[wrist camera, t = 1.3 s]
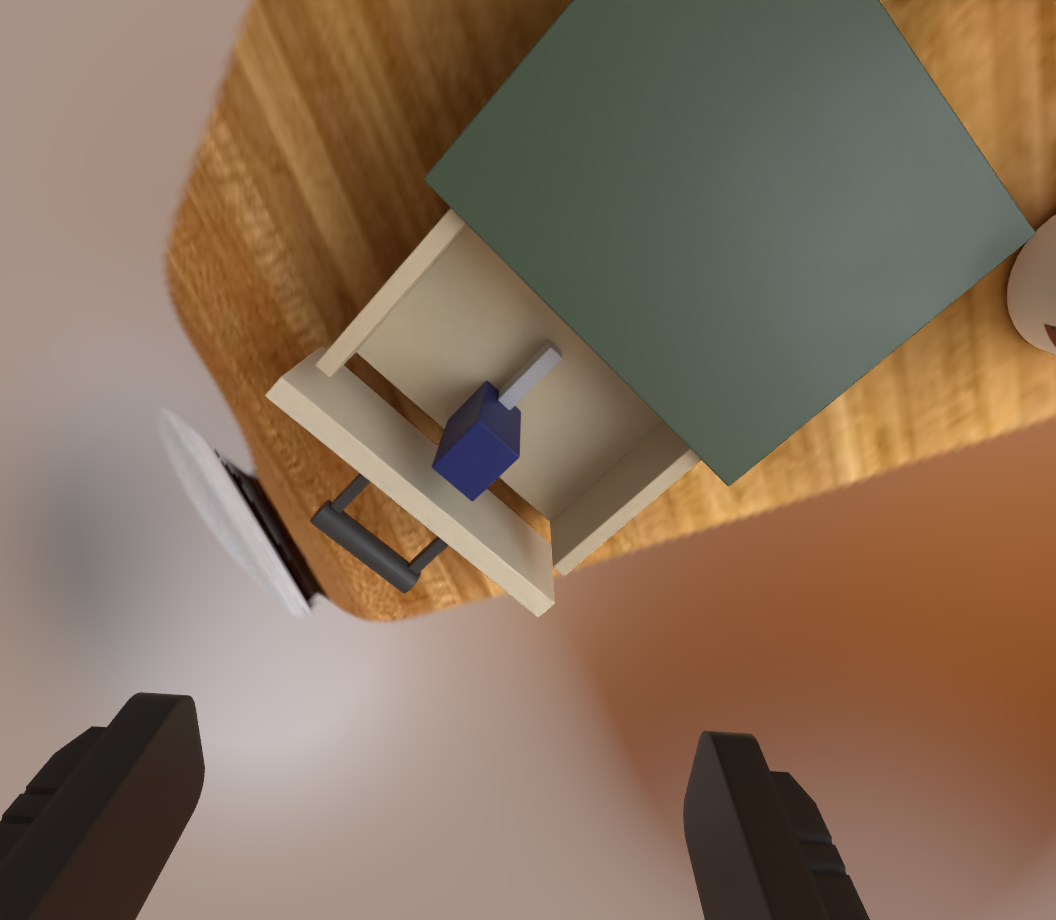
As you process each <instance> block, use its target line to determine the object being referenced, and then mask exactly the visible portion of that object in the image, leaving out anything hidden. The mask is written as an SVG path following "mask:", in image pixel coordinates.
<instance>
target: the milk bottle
mask: <svg viewBox="0 0 1056 920" xmlns="http://www.w3.org/2000/svg"><path fill="white" fill-rule="evenodd" d="M1007 305H1008V311H1009V315H1010V317H1011V319H1012V322H1013V324H1014V326H1015V328H1016V329H1017V330H1018V332H1019V333H1020V335H1021V336H1022V337H1023V338H1024V339H1025V340H1026V341H1027V342H1029V343H1030V344H1031V345H1033V346H1035V347H1037V348H1039V349H1041V350H1044V351H1046V352H1049V353H1052V354H1054V355H1056V214H1055V215H1054V216H1052V217H1051V218H1050V219H1049V220H1048V221H1046V222H1045V223H1044V224H1043V225H1042V226H1041V227H1039V228H1038V229H1037V231H1036V234H1035V235H1034V236H1033V237H1032V238H1031V239H1029V240H1028V241H1027V242H1026V244H1025V245H1024V247H1023V249H1022V250H1021V252H1020V253H1019V255H1018V256H1017V259H1016V261H1015V264H1014V266H1013V268H1012V270H1011V274H1010V278H1009V282H1008V286H1007Z"/></svg>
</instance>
